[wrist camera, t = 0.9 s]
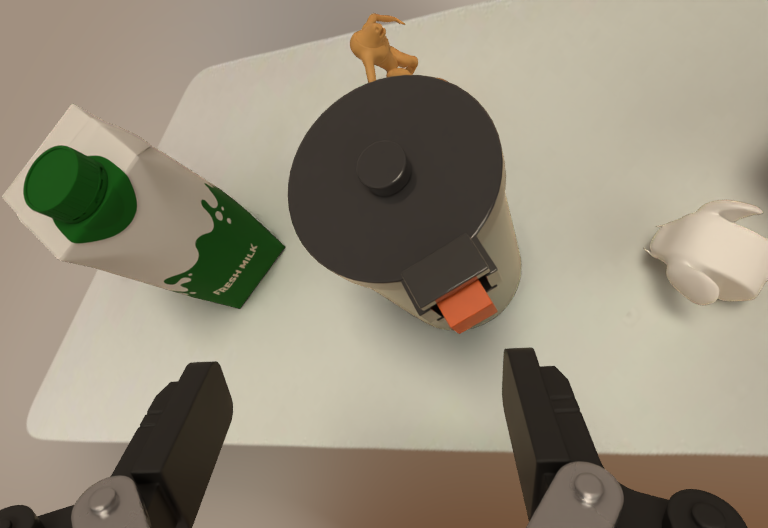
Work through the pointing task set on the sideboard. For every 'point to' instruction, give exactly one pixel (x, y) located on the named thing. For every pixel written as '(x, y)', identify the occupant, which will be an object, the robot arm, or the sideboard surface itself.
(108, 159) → the milk carton
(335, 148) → the jug
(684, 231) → the elephant figurine
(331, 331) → the sideboard surface
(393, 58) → the figurine
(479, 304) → the lid button
